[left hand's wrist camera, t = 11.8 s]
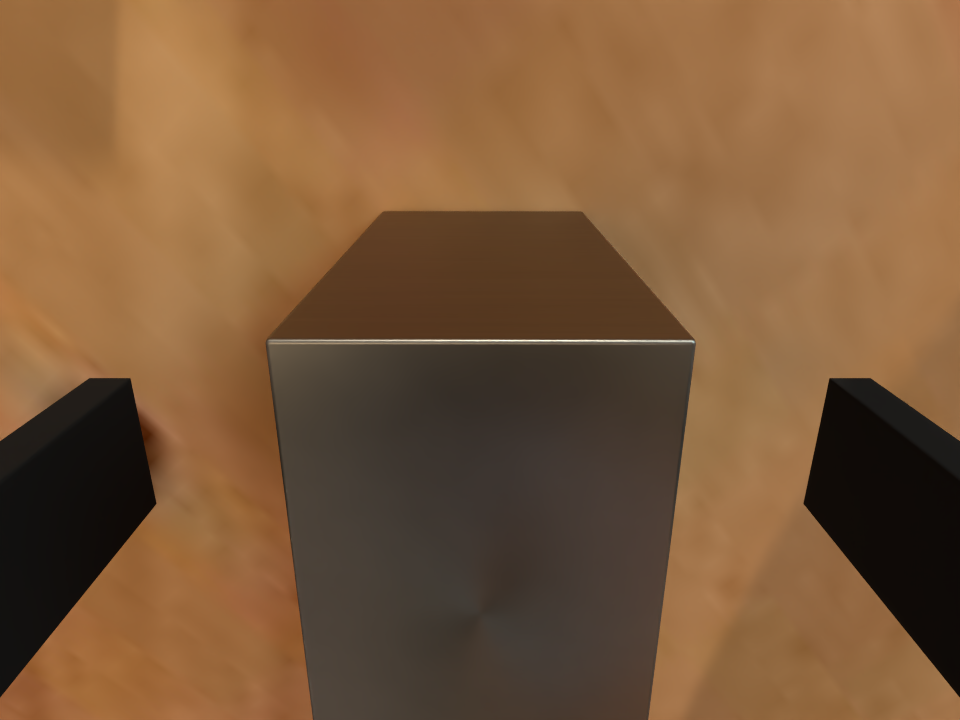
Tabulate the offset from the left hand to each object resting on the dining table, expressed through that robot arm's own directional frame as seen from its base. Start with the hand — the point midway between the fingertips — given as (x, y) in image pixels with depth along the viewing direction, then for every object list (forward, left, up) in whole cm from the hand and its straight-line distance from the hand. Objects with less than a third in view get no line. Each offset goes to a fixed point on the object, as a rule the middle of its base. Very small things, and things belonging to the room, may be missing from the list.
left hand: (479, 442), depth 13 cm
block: (0, 0, -4) cm, 4 cm away
